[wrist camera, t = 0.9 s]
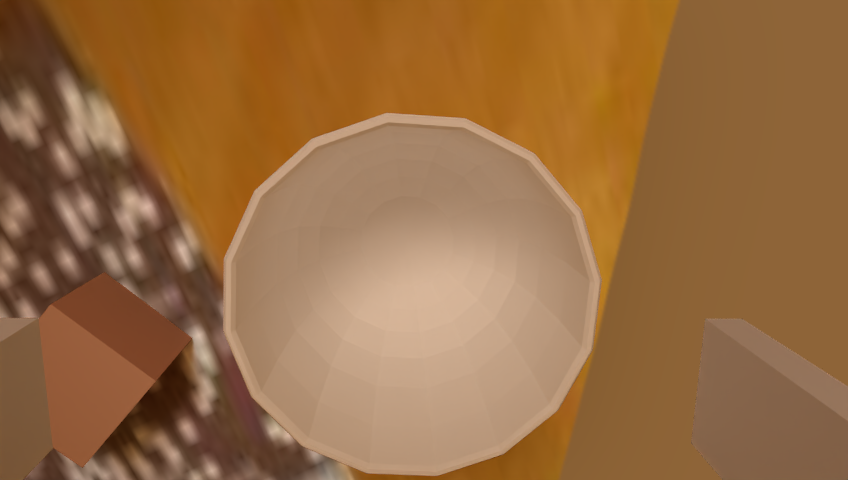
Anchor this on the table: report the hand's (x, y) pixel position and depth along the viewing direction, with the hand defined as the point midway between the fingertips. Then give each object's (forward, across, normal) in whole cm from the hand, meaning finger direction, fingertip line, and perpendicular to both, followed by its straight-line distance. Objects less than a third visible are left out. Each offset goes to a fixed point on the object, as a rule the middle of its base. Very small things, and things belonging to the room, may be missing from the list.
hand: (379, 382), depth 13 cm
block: (+24, -15, -8) cm, 30 cm away
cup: (+24, +1, -1) cm, 24 cm away
